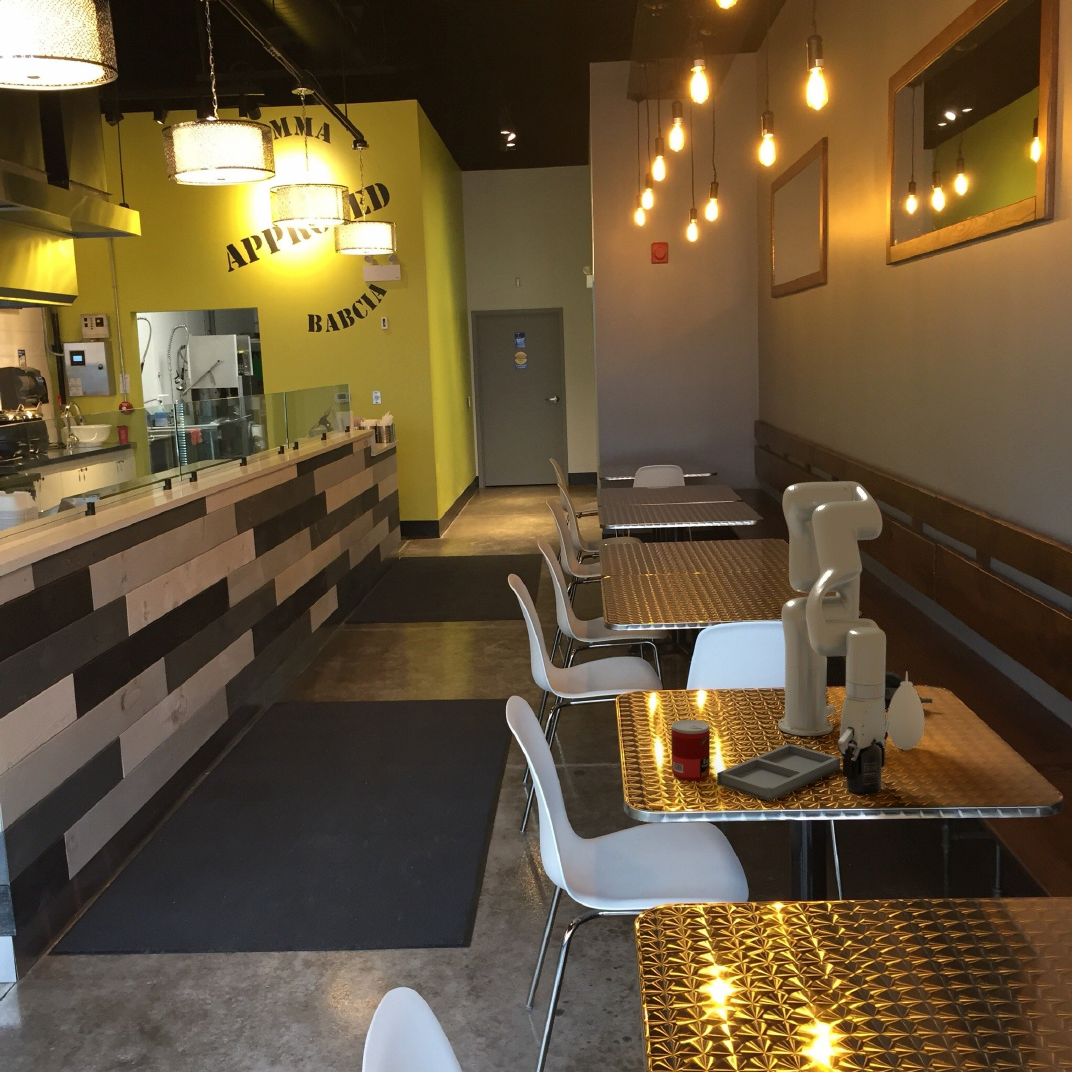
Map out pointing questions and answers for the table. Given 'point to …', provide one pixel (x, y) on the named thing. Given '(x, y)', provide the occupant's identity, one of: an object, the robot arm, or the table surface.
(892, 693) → the caster wheel
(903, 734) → the white air blower bulb
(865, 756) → the supplement bottle
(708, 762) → the canned food
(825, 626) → the robot arm
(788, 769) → the caddy
